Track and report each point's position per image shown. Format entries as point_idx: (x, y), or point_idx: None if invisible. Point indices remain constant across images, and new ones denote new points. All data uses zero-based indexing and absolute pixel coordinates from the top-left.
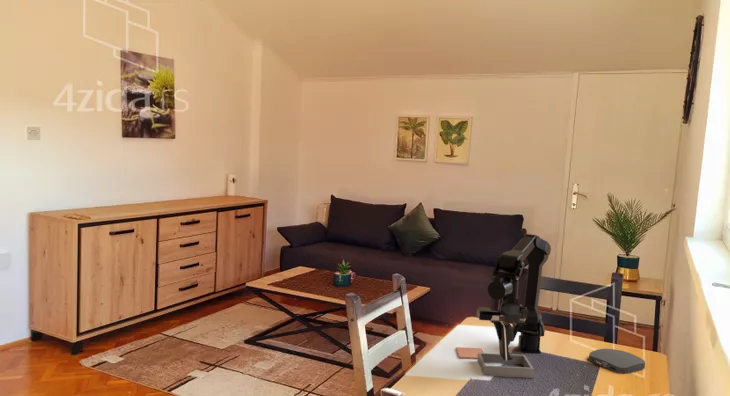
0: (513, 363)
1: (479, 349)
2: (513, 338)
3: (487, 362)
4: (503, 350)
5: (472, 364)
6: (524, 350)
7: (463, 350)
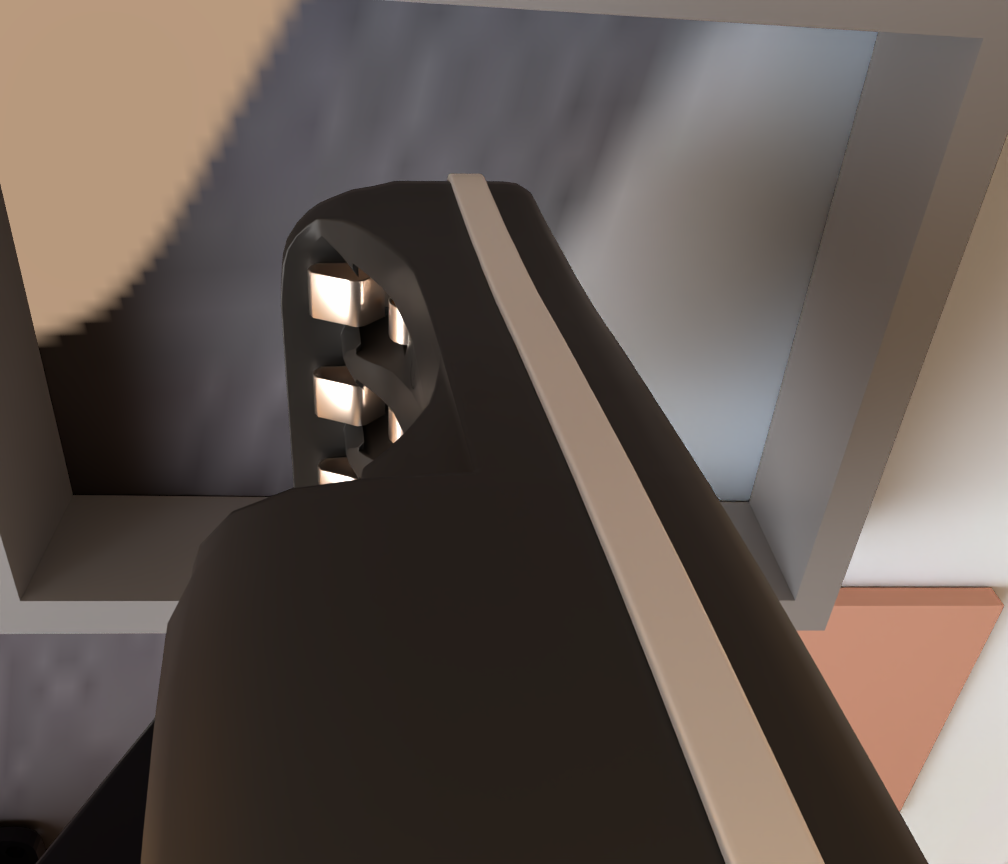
0: (221, 501)
1: None
2: (181, 642)
3: None
4: (592, 304)
5: (904, 422)
6: (5, 856)
7: None
